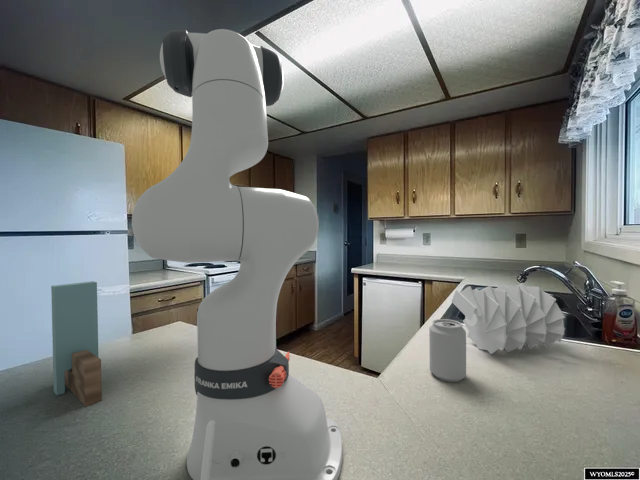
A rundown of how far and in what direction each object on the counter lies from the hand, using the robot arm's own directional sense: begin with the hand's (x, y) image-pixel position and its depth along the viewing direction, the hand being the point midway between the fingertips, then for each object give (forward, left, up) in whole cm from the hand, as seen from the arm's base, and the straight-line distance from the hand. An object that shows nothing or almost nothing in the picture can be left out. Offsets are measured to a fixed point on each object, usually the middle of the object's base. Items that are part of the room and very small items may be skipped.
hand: (136, 231), depth 70 cm
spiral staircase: (-96, -20, -34) cm, 104 cm away
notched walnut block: (+3, +12, -33) cm, 35 cm away
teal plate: (+6, +10, -33) cm, 35 cm away
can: (-74, -2, -34) cm, 81 cm away
